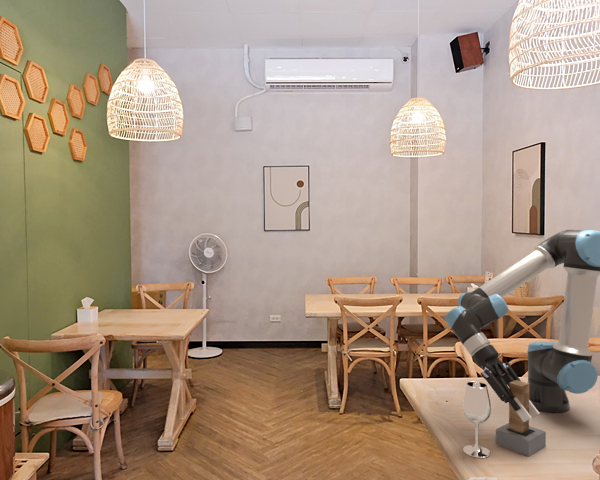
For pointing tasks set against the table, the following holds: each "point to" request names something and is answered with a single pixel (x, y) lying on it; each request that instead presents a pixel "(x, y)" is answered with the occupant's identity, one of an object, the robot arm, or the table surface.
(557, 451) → the table surface
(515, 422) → the wooden block
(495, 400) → the table surface
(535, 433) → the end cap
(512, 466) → the table surface
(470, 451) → the wineglass
